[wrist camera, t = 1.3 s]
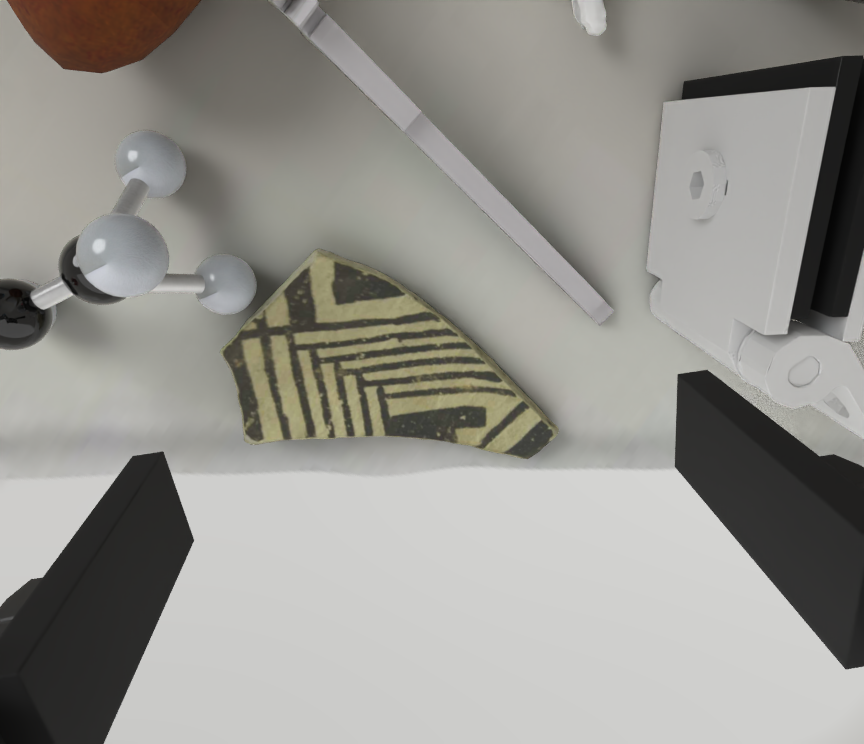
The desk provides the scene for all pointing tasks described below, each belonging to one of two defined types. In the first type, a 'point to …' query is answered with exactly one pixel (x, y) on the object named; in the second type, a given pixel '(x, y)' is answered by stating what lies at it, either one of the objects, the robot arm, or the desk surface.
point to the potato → (100, 29)
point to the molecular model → (124, 253)
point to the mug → (859, 0)
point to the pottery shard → (371, 368)
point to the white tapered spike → (590, 15)
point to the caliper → (437, 148)
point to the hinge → (767, 229)
